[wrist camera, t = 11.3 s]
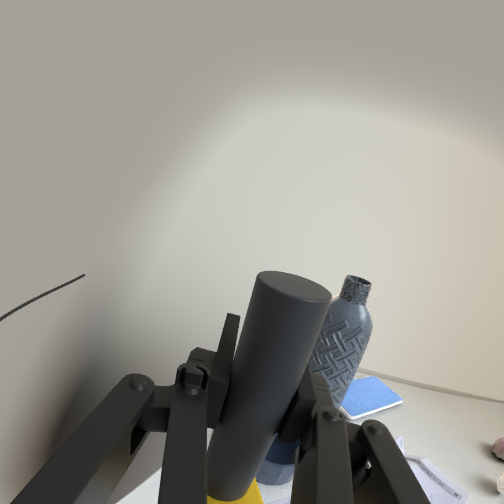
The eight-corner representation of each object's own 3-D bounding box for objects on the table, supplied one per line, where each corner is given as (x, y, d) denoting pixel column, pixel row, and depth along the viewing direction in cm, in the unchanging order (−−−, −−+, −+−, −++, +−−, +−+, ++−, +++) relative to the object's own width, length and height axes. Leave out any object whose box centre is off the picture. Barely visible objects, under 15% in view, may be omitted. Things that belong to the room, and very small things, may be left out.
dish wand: (180, 483, 15) (232, 258, 12) (237, 484, 16) (320, 274, 13) (185, 530, 12) (255, 298, 8) (249, 529, 13) (369, 314, 9)
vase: (330, 433, 48) (395, 299, 42) (271, 413, 52) (322, 275, 46) (337, 400, 60) (388, 283, 54) (287, 382, 63) (329, 263, 57)
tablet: (349, 422, 52) (351, 418, 52) (317, 387, 63) (319, 383, 63) (402, 404, 61) (405, 400, 60) (372, 378, 72) (374, 374, 72)
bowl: (232, 441, 42) (240, 419, 41) (288, 440, 45) (298, 419, 44) (245, 489, 33) (255, 469, 32) (307, 482, 36) (321, 462, 35)
